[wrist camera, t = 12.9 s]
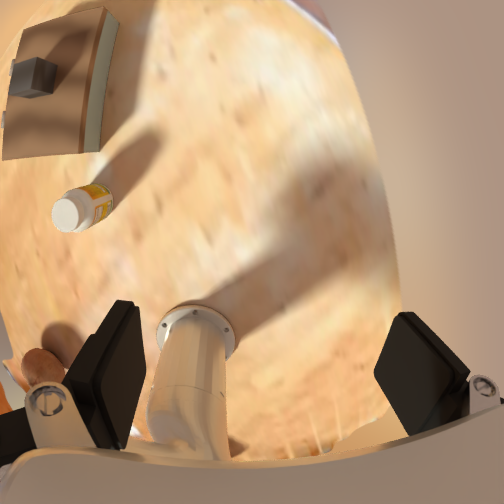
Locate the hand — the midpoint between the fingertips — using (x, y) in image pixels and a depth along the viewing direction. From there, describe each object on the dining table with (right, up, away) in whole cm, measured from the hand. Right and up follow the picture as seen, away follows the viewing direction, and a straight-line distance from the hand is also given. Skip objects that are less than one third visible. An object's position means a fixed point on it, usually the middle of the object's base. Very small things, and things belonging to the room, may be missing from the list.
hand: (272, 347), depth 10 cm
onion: (-40, -18, +35) cm, 56 cm away
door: (-27, +25, +16) cm, 40 cm away
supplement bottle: (-22, +10, +27) cm, 36 cm away
